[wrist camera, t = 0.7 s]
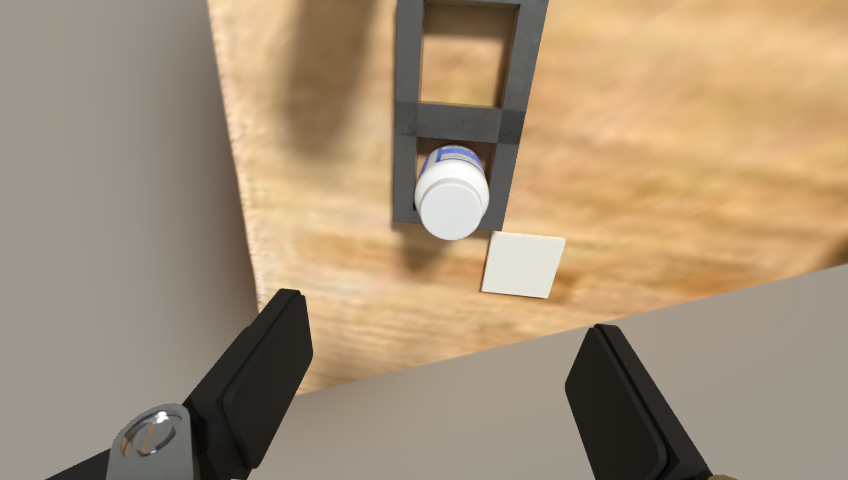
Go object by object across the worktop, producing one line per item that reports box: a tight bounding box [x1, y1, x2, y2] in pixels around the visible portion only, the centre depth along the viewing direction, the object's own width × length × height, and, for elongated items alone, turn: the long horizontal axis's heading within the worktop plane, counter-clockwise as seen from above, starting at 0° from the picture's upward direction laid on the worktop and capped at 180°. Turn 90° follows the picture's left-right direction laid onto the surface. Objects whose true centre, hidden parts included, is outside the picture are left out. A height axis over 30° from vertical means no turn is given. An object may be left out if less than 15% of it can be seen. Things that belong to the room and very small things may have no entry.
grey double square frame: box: [393, 0, 549, 231], centre depth 25 cm, size 10×18×2 cm, turn 176°
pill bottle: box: [415, 144, 489, 240], centre depth 24 cm, size 5×5×10 cm
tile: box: [481, 231, 566, 298], centre depth 32 cm, size 7×7×1 cm
